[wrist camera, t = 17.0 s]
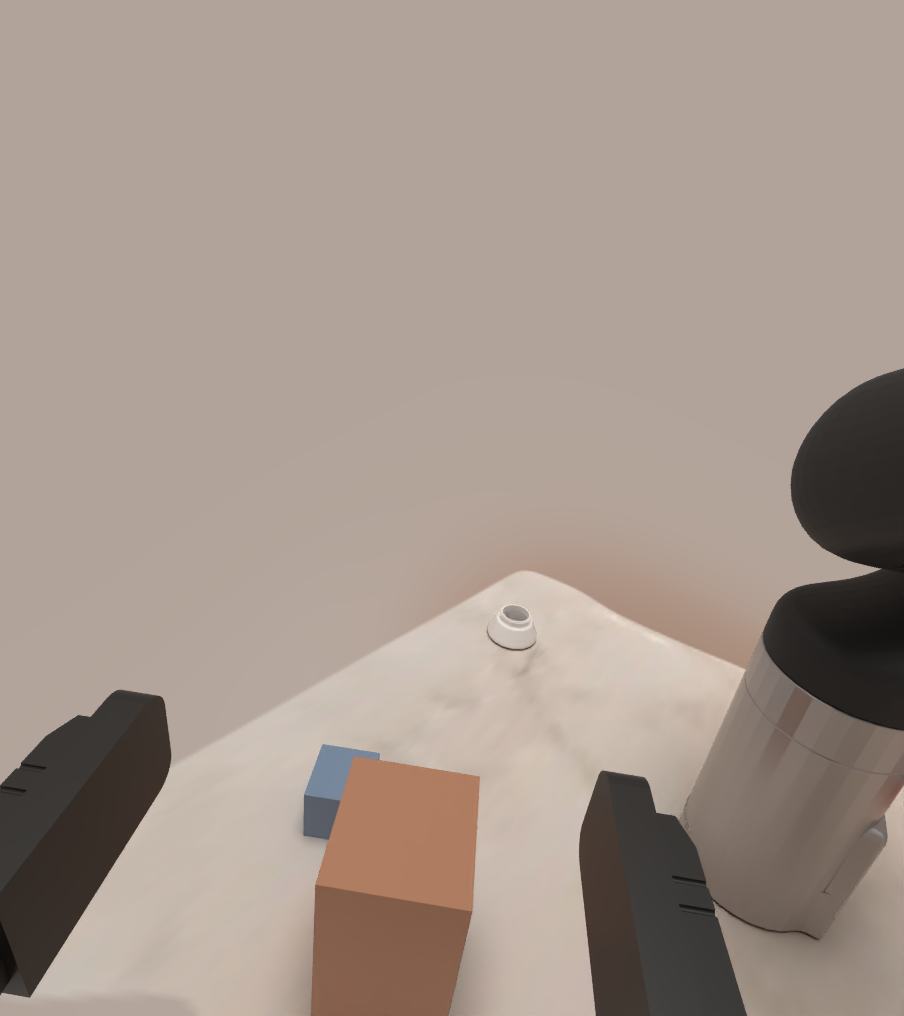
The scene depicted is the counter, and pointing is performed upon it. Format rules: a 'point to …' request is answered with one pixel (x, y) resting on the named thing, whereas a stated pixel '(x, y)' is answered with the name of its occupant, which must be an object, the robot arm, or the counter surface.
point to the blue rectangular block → (328, 788)
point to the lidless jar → (512, 627)
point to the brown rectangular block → (395, 892)
